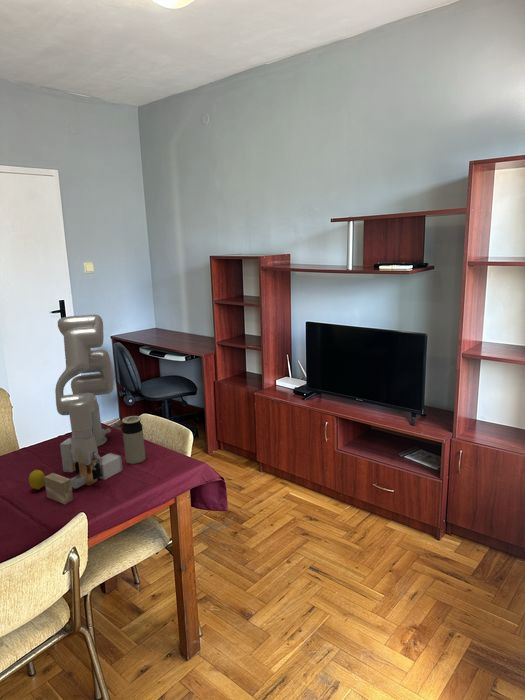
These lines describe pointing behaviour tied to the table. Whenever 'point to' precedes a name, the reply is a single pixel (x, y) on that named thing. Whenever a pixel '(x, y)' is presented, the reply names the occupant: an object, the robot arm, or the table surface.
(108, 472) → the sleeve
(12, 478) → the table surface
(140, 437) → the travel mug
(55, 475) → the socket block
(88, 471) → the multicoloured angled piece
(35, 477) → the lemon
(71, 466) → the skincare box
